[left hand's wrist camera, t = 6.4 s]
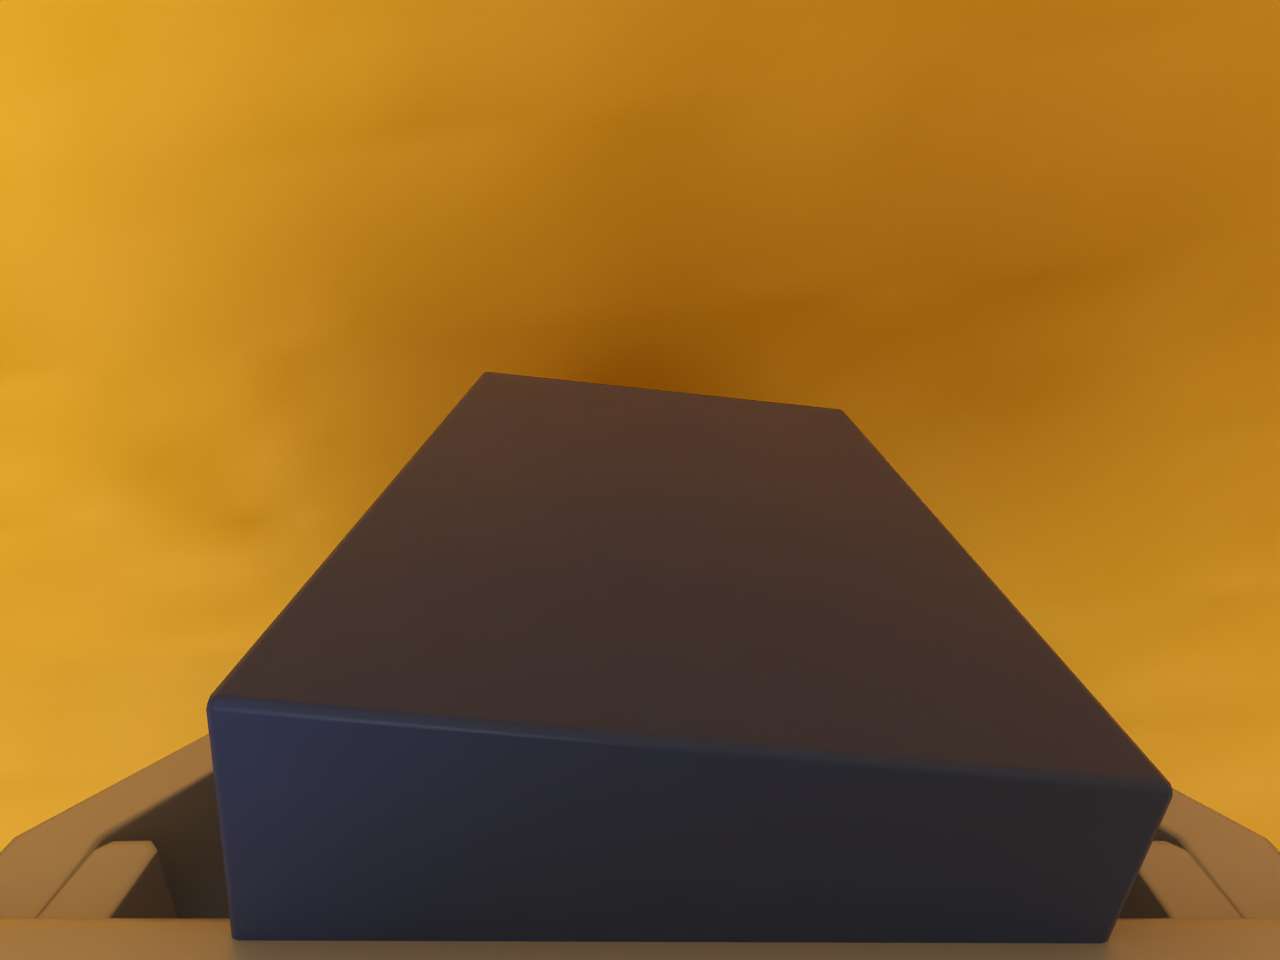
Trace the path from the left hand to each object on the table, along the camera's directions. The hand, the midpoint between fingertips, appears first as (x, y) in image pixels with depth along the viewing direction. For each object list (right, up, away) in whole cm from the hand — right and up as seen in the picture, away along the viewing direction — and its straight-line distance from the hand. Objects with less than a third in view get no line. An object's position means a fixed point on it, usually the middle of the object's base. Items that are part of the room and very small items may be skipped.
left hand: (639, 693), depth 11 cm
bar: (-1, -8, +7) cm, 11 cm away
